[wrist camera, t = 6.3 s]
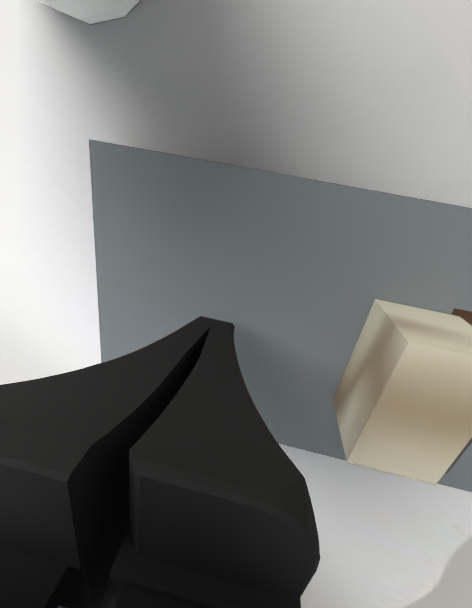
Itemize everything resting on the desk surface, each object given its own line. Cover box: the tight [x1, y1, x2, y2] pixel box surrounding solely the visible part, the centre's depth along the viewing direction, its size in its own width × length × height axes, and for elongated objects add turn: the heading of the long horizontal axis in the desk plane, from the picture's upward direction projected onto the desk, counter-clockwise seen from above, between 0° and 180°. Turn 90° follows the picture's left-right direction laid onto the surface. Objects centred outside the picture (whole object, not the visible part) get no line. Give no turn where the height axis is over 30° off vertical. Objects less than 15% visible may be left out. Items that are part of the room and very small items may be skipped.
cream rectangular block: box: [333, 299, 472, 485], centre depth 10 cm, size 5×3×3 cm
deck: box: [89, 140, 472, 492], centre depth 12 cm, size 12×21×2 cm, turn 80°
